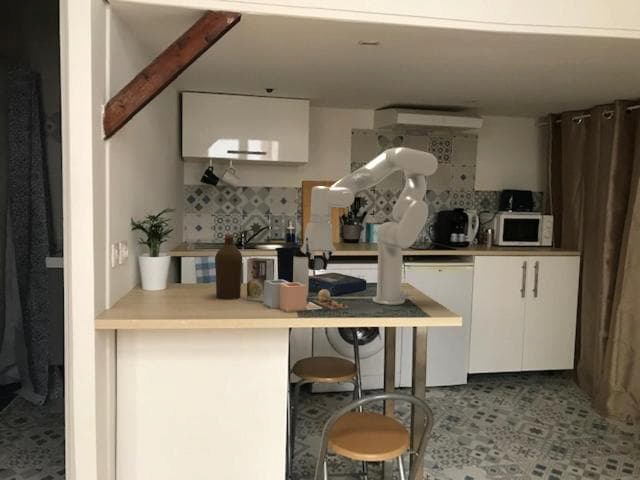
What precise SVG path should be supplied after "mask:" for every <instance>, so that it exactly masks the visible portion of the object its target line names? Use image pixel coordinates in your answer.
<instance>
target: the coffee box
mask: <svg viewBox="0 0 640 480" xmlns="http://www.w3.org/2000/svg"><path fill="white" fill-rule="evenodd" d="M266 280H275V258H265V257H252V258H249V259H246V301H253V302H263V303H264V281H266Z"/></svg>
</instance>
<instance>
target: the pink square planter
mask: <svg viewBox="0 0 640 480" xmlns="http://www.w3.org/2000/svg"><path fill="white" fill-rule="evenodd" d="M307 299H308V298H307V286H306V285H304V284H301V283H298V282H296V283H293V282H290V283H280V290H279V308H278V309H280V310H282V311H284V312H286V313H294V312H305V311H307V310H306V301H307Z"/></svg>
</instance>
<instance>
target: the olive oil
mask: <svg viewBox="0 0 640 480" xmlns="http://www.w3.org/2000/svg"><path fill="white" fill-rule="evenodd" d="M214 262H215V264H214V266H215V295H216V296H215V297H216V298H217V299H221V300H235V299H237V300H238V299H239V298H241V289H242V287H241V286H242V271H243V270H242V269H243V255H242V253H241V251H240V249H238V248H237V247H236V245H235V244H234V234H233V233H226V234H225V235H224V244H223V245H222V246H221V247H220V248H219V250H217V252H216V254H215V257H214Z"/></svg>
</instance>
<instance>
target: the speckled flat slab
mask: <svg viewBox="0 0 640 480" xmlns="http://www.w3.org/2000/svg"><path fill="white" fill-rule="evenodd" d="M313 302H314V304H318V305H320V306H321V307H324V308H327V309H330V310H331V311H333V310H345V309H349V308H350V307H349V306H348V305H346V303H341V301H335V300H333V299H331V298H329V299H328V300H327V301H323V300H320V299H319V297H317V298H315V299H313V300H312V303H313Z"/></svg>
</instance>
